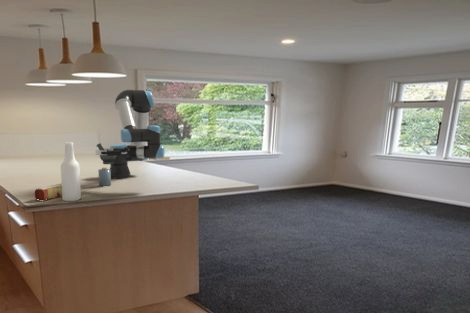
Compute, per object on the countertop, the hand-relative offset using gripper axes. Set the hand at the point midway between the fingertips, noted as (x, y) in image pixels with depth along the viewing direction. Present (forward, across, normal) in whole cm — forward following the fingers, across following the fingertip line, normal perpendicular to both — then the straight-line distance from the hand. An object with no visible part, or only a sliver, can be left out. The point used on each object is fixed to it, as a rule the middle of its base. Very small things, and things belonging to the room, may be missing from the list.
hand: (99, 151), depth 197 cm
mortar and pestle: (-4, 0, -7) cm, 9 cm away
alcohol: (+6, -25, -23) cm, 34 cm away
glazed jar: (+1, +10, -23) cm, 25 cm away
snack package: (+18, -17, -23) cm, 34 cm away
